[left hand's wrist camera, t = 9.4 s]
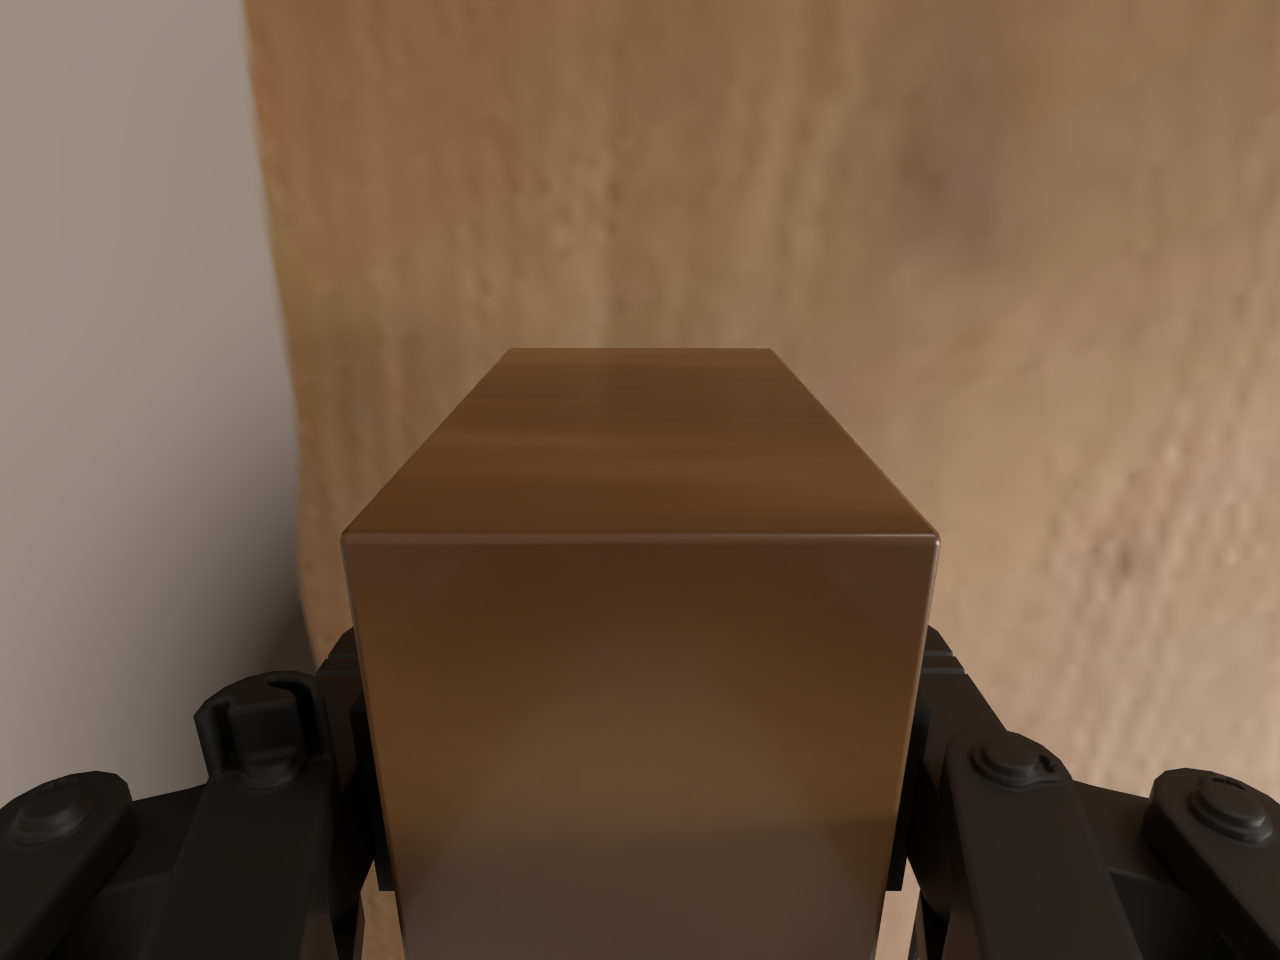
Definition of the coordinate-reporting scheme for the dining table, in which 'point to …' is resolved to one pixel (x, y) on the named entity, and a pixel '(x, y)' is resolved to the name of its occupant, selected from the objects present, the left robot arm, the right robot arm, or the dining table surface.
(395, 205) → the dining table surface
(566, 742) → the beam
